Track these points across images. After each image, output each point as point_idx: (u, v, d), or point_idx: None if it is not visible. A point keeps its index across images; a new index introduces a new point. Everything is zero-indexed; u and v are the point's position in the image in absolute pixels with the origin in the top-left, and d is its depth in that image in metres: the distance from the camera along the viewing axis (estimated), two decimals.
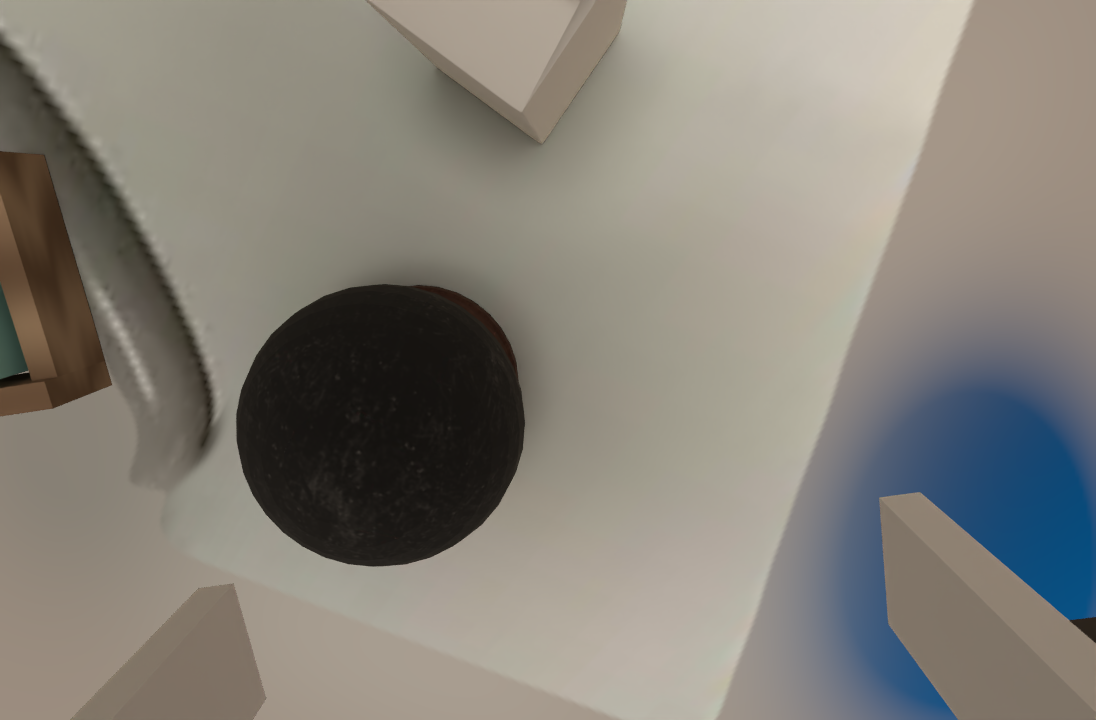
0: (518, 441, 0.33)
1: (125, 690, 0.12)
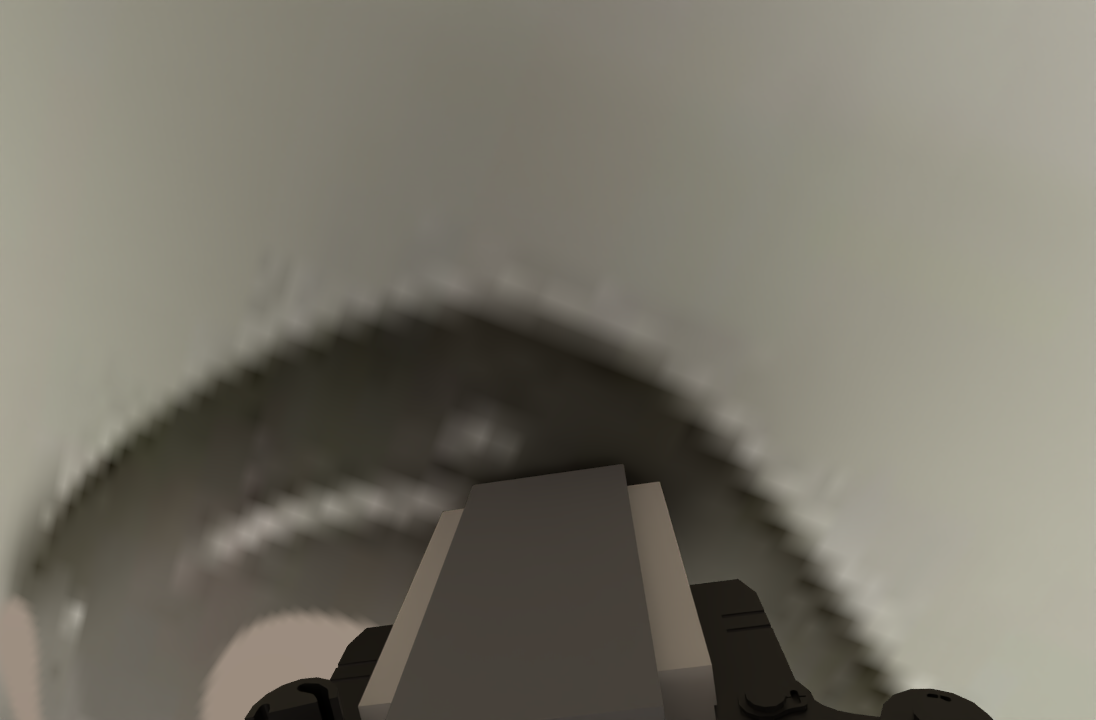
0: None
1: None
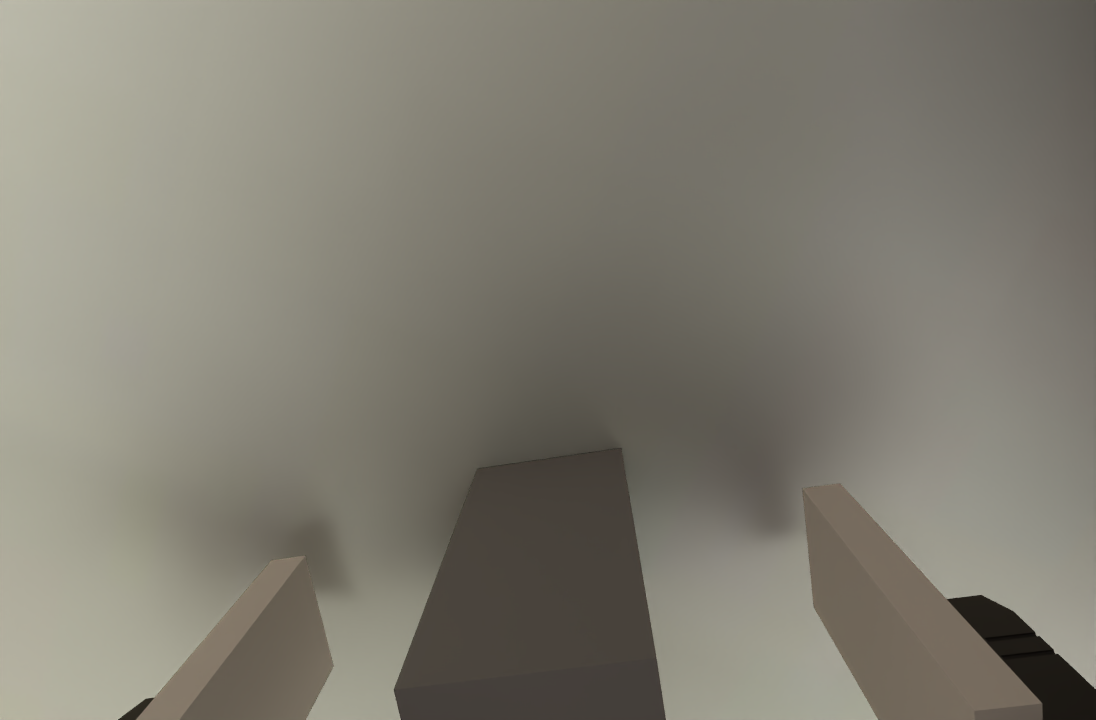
0: None
1: (221, 648, 0.12)
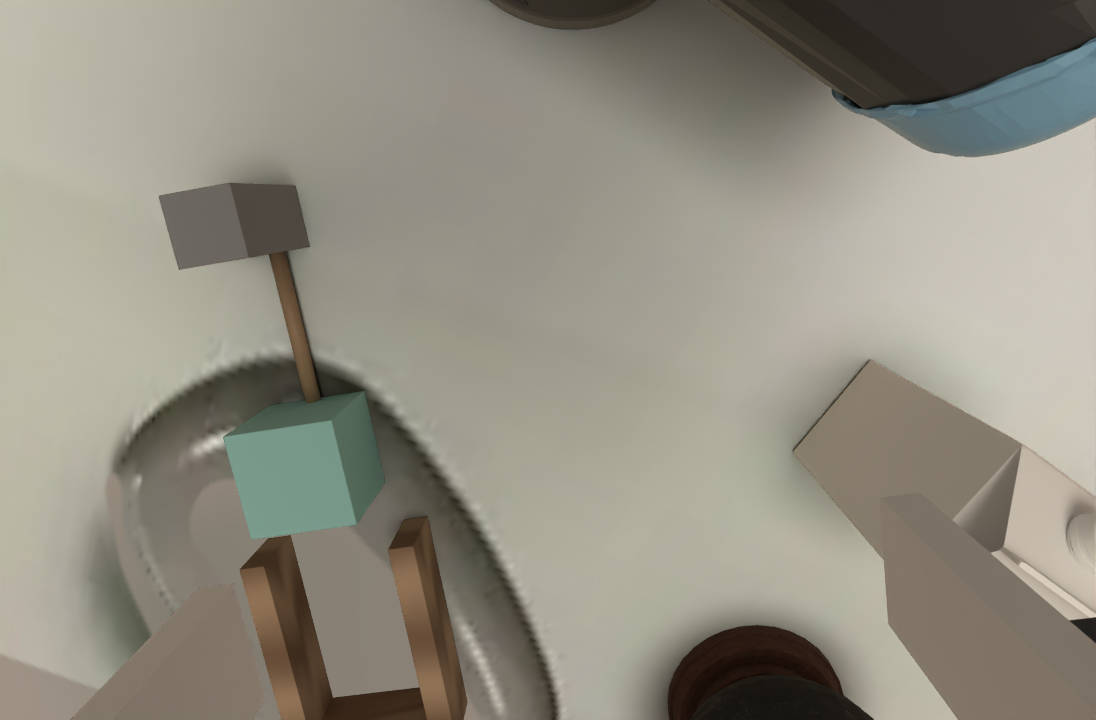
0: None
1: (125, 690, 0.12)
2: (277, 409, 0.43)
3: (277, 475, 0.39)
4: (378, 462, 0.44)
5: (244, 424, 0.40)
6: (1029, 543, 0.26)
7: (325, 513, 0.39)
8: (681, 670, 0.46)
